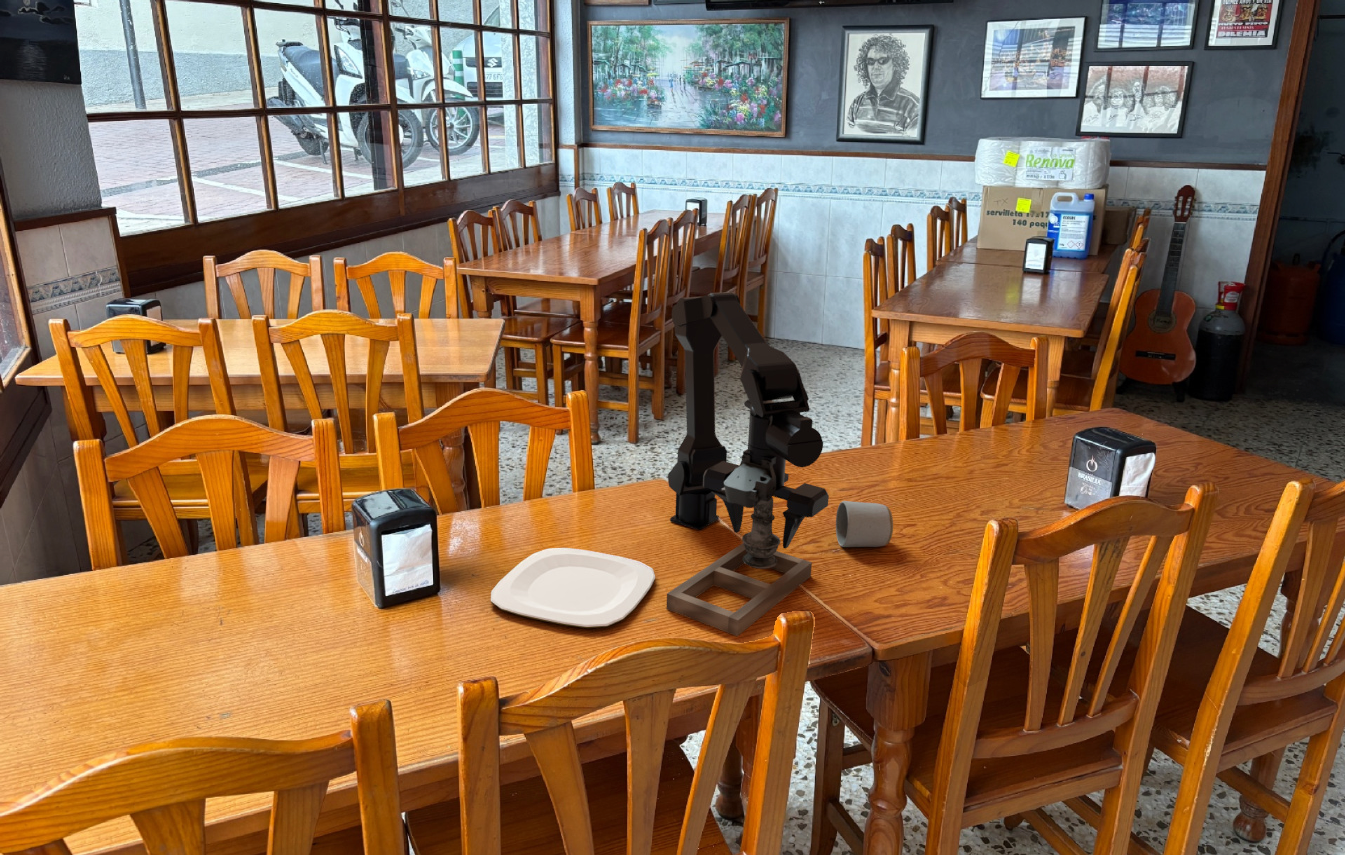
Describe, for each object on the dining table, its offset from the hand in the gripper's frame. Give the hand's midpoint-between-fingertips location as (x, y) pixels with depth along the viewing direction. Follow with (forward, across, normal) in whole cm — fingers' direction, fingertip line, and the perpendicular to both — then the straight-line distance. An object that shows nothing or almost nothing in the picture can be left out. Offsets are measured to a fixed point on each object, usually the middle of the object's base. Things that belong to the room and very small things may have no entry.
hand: (761, 539), depth 140 cm
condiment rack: (+7, 0, -5) cm, 8 cm away
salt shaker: (+4, 0, 0) cm, 4 cm away
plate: (+8, -20, -20) cm, 29 cm away
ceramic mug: (+7, +6, +23) cm, 25 cm away
